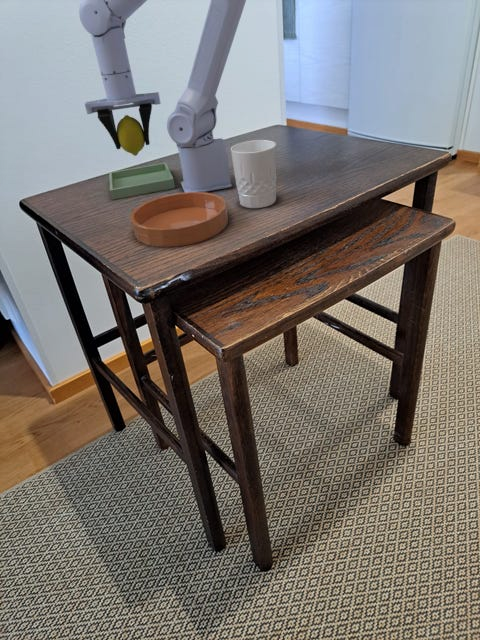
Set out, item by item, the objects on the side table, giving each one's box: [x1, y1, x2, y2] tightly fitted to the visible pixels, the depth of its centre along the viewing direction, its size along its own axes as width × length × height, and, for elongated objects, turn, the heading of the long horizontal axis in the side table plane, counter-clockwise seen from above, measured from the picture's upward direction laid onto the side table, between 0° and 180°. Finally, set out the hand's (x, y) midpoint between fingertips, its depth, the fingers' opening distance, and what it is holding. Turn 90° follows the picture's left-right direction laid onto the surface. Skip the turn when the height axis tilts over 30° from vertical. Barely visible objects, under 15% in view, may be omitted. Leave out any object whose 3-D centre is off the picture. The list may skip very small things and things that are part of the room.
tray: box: [108, 162, 176, 200], centre depth 98 cm, size 13×13×2 cm
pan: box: [130, 191, 229, 248], centre depth 77 cm, size 16×16×3 cm
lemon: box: [116, 114, 146, 157], centre depth 92 cm, size 6×6×8 cm
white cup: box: [230, 139, 278, 209], centre depth 80 cm, size 8×8×10 cm
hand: (133, 146), depth 94 cm, fingers closed on lemon, 5 cm apart
